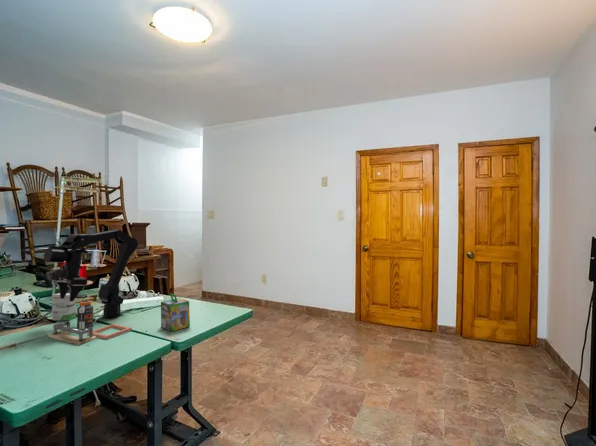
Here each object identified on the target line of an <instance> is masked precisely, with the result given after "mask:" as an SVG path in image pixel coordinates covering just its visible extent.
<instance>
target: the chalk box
mask: <svg viewBox="0 0 596 446" xmlns="http://www.w3.org/2000/svg"><path fill="white" fill-rule="evenodd" d="M170 298H171V299H167V300H163V301H161V302H160V326H161V328H162V329H165V330H166V331H168V332H170V333H172V332H175V331H179V330H182V329H185V328H190V326H191V325H190V324H191V322H190V320H191V319H190V318H191V317H190V300H186V299H183V298H179V297H178V298H177V295H176V294H173V293H171V292H170Z"/></svg>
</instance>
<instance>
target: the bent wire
mask: <svg viewBox="0 0 596 446" xmlns="http://www.w3.org/2000/svg"><path fill="white" fill-rule="evenodd" d="M52 328H53V333H54V334H57V332H58V330H59V331H62V330H63V331H67V332H71V333H70V334H74V335H75V334H76V335H78V337H79V341H82V340H83V338H84V336H83V335H84V334H88V332H89V335H88V336H89V337H93V330H94V329H93V327H90V328H87V329H78V328H73V327H71V322H70V320H65V321H62V322H59V323H55V324H53V326H52Z"/></svg>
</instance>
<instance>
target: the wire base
mask: <svg viewBox="0 0 596 446" xmlns="http://www.w3.org/2000/svg"><path fill="white" fill-rule="evenodd" d="M71 334H72V333H71V332H67V331H63V330H59V331H57V334H54V332H52V333H49V334H48V337H49V338H52V339H55V340H58V341H63V342H67V343H70V344H74V345H77V346H81V345H84V344H87V343H89V342H92V341H95V340H97V337H96V336H93V337H89V335H87V336H85V337H83V340H82V341H79V336H75V335H71Z"/></svg>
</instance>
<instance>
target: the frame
mask: <svg viewBox="0 0 596 446" xmlns="http://www.w3.org/2000/svg"><path fill="white" fill-rule="evenodd" d="M132 328H133V327H130V326H124V325H120V324H117V323H111V324H108V325H106V326H103V327H100V328H97V329H93V336H96V339H97V338H98V339H102V340H105V341H106V340H110V339H113V338H115V337H117V336H121V335H123V334H126V333H128V332H131V331H133V330H132ZM110 329H116V330H118V331H115V332H112V333H110V334H103V333H102V332H105V331H106V330H110ZM87 336H89V332H88V333H87Z"/></svg>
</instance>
